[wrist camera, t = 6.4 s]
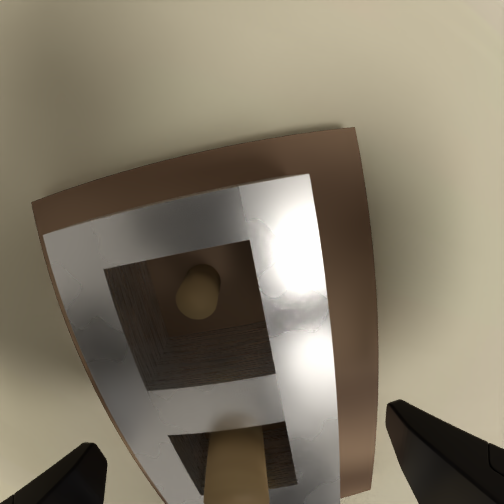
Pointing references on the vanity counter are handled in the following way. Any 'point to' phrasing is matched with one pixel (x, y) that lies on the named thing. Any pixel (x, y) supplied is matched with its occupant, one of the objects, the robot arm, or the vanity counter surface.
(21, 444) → the vanity counter surface
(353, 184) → the post stand
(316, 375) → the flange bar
